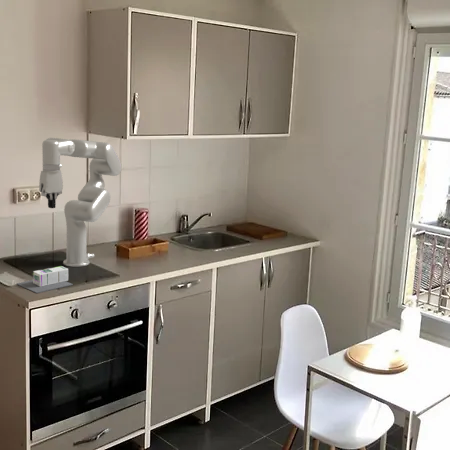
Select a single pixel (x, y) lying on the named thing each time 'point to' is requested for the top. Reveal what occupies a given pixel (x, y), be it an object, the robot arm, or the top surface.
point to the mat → (38, 289)
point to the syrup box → (50, 276)
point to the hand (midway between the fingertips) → (51, 207)
